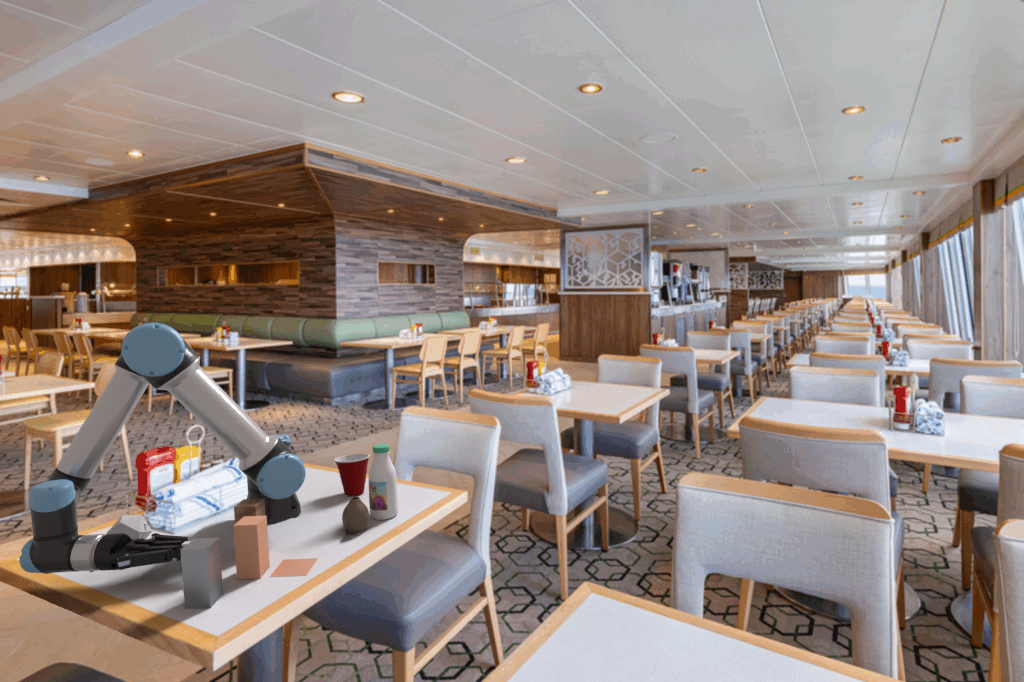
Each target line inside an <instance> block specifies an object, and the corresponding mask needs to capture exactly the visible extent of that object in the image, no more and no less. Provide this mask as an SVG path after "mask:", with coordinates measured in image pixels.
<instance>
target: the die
mask: <svg viewBox="0 0 1024 682" xmlns="http://www.w3.org/2000/svg"><path fill="white" fill-rule="evenodd" d="M152 532H153V530H152V529H151V527H150V525H149V523H148V522H147V520H146V519H145V517H144V515H143V514H129V515H127V514H126V515H121V516H120V517H119V518H118V519H117V521H116V522H115V523H114V524H113V525H112V526H111V527H110V528H109V529H108V531H107V532H106V533H105V534H118V533H124V534H127V535H128V536H129V537H130V538H131V539H132V540H135V539H140V538H143V539H147V538H148V537H149V536H150V534H152Z"/></svg>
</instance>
